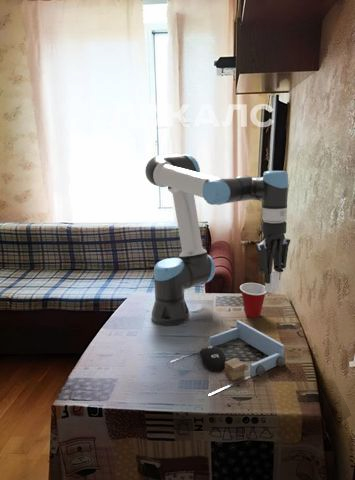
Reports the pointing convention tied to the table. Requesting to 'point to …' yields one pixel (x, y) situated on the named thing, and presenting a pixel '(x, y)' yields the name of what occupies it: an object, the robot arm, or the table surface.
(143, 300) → the table surface
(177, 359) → the track
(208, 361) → the computer mouse
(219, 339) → the blue u-shaped bracket
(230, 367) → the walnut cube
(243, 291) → the plastic cup
